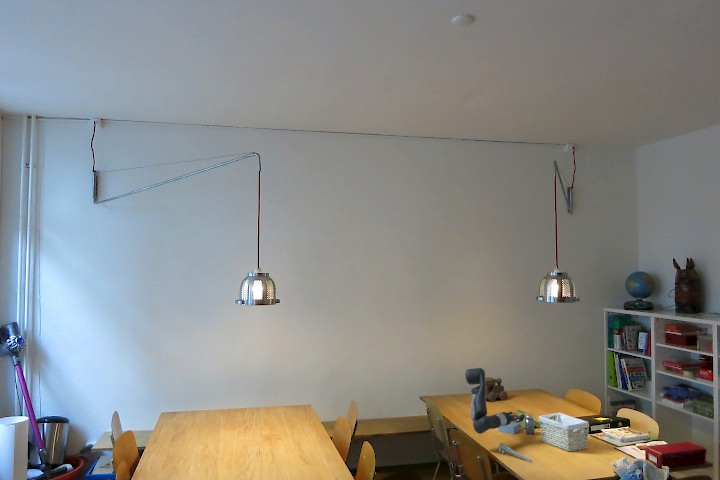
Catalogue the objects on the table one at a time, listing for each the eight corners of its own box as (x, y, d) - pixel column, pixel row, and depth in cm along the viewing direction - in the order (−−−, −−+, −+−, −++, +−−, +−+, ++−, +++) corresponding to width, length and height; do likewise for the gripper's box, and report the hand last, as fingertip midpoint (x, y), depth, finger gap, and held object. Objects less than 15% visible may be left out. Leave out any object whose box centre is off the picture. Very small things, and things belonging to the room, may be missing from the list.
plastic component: (543, 424, 335) (529, 418, 333) (538, 435, 334) (524, 429, 333) (528, 413, 354) (515, 408, 353) (524, 424, 354) (511, 418, 353)
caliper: (499, 453, 291) (498, 441, 291) (500, 453, 292) (499, 441, 292) (532, 463, 275) (531, 450, 276) (533, 462, 276) (532, 450, 276)
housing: (524, 434, 322) (523, 415, 323) (527, 432, 326) (526, 414, 327) (532, 435, 319) (531, 417, 320) (535, 433, 323) (534, 415, 324)
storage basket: (538, 441, 310) (537, 415, 310) (560, 437, 316) (558, 411, 317) (568, 453, 287) (567, 425, 288) (591, 449, 294) (590, 421, 295)
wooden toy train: (487, 403, 401) (486, 380, 402) (478, 399, 411) (477, 378, 412) (509, 399, 408) (508, 378, 409) (500, 396, 419) (499, 375, 420)
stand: (498, 431, 329) (498, 424, 330) (504, 427, 337) (504, 421, 338) (514, 434, 324) (513, 427, 324) (519, 429, 332) (519, 423, 332)
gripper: (511, 415, 301) (527, 410, 311) (490, 411, 312) (507, 406, 322) (511, 429, 301) (528, 423, 311) (491, 424, 312) (508, 419, 322)
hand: (517, 415), depth 316 cm, fingers open, 8 cm apart
